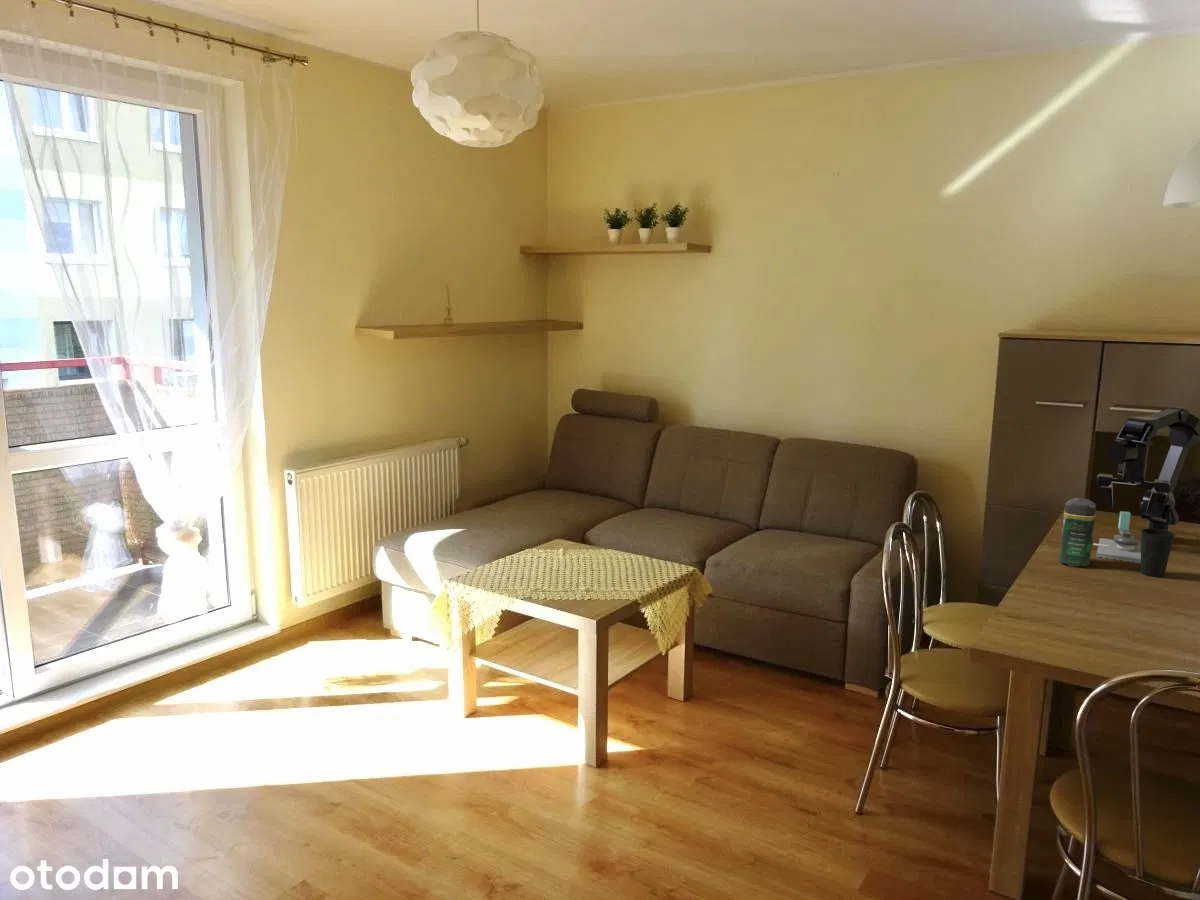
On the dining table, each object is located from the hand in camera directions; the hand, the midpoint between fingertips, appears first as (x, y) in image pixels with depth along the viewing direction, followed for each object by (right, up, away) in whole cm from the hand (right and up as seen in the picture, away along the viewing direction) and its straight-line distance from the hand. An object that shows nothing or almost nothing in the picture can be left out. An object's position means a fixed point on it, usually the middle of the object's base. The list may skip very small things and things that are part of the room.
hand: (1129, 511), depth 263 cm
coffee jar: (-23, -14, -11) cm, 29 cm away
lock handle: (-2, -9, -2) cm, 9 cm away
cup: (-7, -16, -21) cm, 27 cm away
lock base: (-3, -12, -3) cm, 13 cm away
